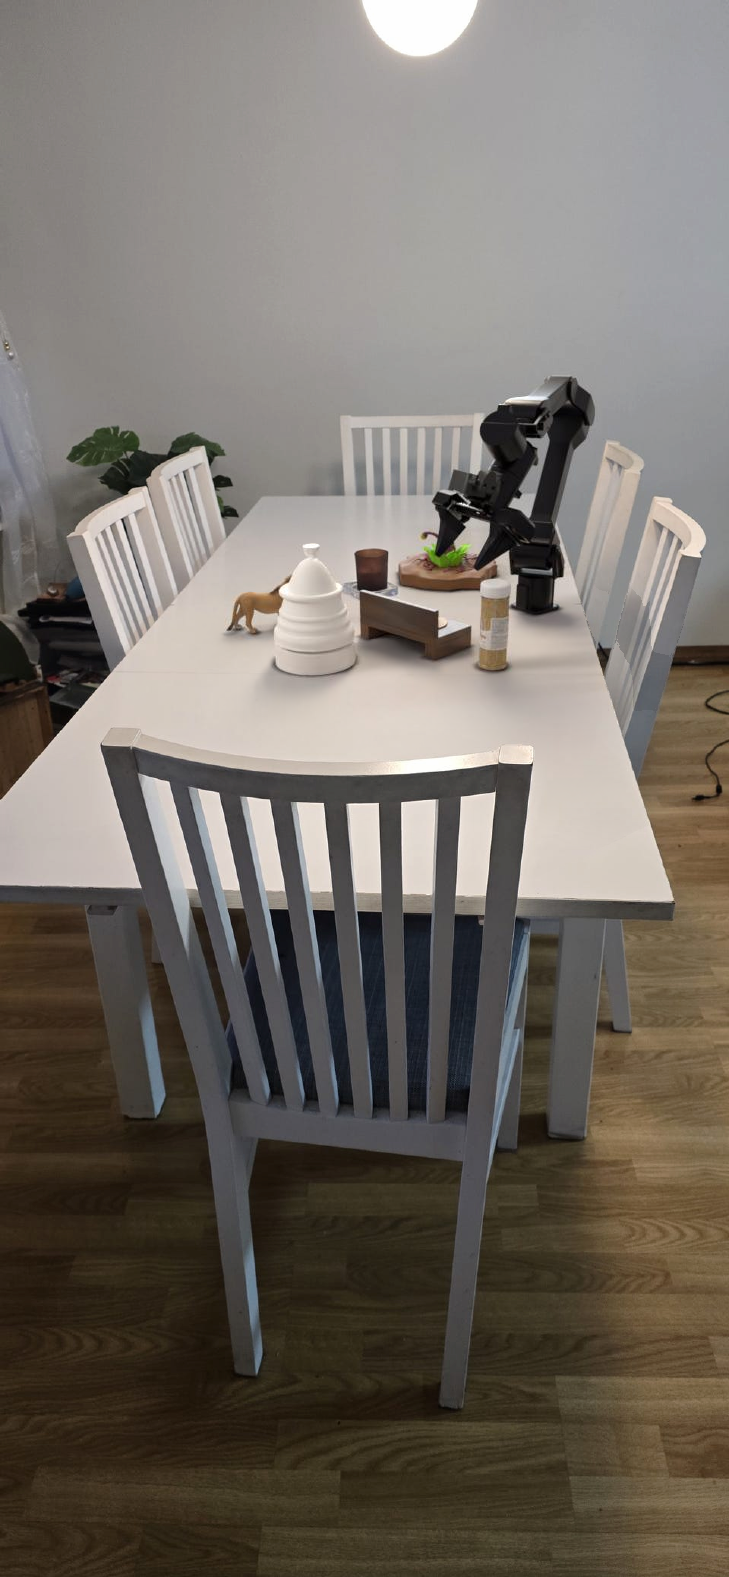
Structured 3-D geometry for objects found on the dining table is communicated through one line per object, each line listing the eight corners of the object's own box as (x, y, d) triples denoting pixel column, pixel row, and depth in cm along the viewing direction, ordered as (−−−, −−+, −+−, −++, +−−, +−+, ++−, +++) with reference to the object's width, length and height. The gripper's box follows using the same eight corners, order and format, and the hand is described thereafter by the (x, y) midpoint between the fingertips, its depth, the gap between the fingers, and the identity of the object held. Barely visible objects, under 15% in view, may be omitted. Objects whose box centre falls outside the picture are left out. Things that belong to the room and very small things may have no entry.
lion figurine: (303, 618, 178) (300, 569, 174) (312, 627, 174) (309, 577, 170) (223, 629, 174) (218, 579, 170) (230, 638, 170) (225, 587, 165)
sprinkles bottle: (474, 662, 157) (476, 579, 150) (502, 660, 157) (505, 576, 151) (482, 672, 153) (485, 587, 146) (511, 670, 153) (515, 585, 147)
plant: (390, 589, 193) (389, 531, 188) (404, 562, 210) (403, 509, 205) (493, 592, 190) (496, 533, 184) (499, 564, 207) (501, 510, 201)
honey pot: (280, 647, 165) (272, 539, 157) (357, 646, 165) (354, 538, 156) (271, 675, 154) (262, 561, 145) (353, 674, 153) (350, 559, 145)
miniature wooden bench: (397, 624, 174) (396, 579, 171) (471, 645, 163) (472, 598, 160) (360, 636, 169) (359, 590, 165) (434, 660, 158) (434, 611, 154)
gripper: (437, 438, 156) (388, 525, 157) (521, 456, 143) (467, 551, 144) (475, 476, 164) (428, 558, 165) (558, 497, 151) (507, 586, 152)
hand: (455, 562), depth 156 cm, fingers open, 9 cm apart
